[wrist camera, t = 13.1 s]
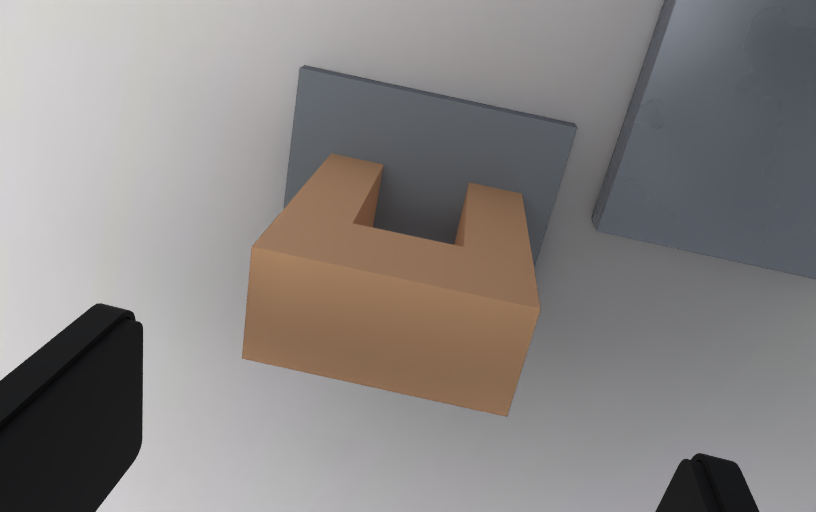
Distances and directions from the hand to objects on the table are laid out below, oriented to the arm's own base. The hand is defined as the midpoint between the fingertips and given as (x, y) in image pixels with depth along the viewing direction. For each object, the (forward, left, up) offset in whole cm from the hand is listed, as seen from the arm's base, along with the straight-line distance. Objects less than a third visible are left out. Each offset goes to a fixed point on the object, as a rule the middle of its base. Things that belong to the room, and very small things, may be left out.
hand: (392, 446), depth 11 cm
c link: (+1, 0, -12) cm, 12 cm away
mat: (+1, 0, -13) cm, 13 cm away
